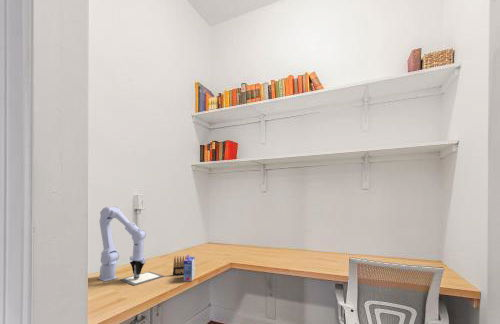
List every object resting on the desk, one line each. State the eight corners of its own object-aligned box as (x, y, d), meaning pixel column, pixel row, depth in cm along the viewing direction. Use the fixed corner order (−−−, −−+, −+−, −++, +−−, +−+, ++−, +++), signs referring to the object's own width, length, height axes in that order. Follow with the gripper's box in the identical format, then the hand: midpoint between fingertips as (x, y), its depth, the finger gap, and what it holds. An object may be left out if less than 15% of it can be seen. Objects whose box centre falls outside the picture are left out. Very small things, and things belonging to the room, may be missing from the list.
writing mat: (119, 280, 151) (119, 279, 151) (149, 272, 167) (149, 271, 167) (133, 285, 142) (133, 284, 142) (163, 276, 158) (163, 275, 158)
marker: (132, 278, 151) (133, 264, 152) (137, 276, 154) (138, 263, 155) (135, 279, 149) (136, 265, 150) (140, 277, 152) (141, 264, 153)
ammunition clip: (189, 274, 164) (190, 255, 165) (189, 274, 162) (190, 255, 163) (173, 274, 162) (173, 255, 163) (172, 275, 160) (173, 256, 162)
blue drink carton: (186, 276, 159) (187, 252, 161) (195, 276, 159) (195, 252, 161) (182, 281, 149) (183, 256, 151) (191, 281, 150) (192, 256, 152)
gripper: (125, 250, 155) (124, 273, 153) (138, 253, 146) (136, 277, 145) (136, 248, 160) (135, 270, 159) (149, 251, 152) (148, 274, 150)
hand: (136, 273), depth 152 cm, fingers closed on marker, 3 cm apart
